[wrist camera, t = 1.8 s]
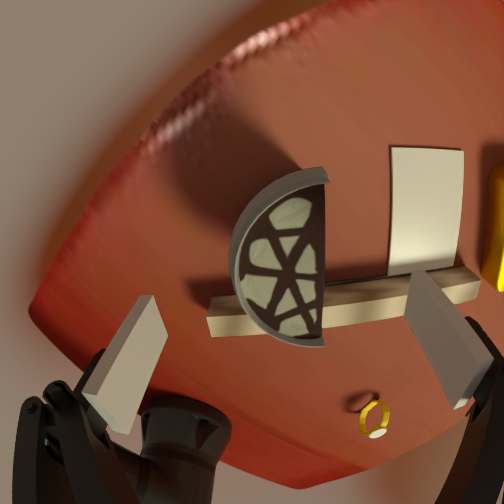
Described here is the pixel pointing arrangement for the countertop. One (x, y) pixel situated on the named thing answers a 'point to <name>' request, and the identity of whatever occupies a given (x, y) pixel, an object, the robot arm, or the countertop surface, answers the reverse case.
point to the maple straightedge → (350, 301)
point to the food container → (283, 258)
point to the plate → (424, 208)
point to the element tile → (494, 231)
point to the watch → (381, 428)
